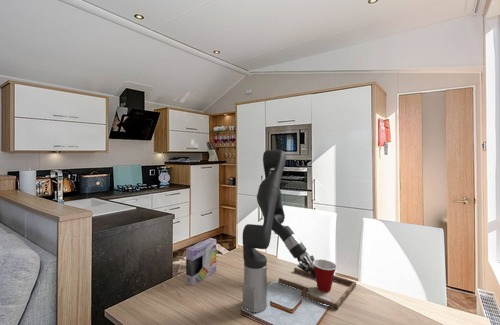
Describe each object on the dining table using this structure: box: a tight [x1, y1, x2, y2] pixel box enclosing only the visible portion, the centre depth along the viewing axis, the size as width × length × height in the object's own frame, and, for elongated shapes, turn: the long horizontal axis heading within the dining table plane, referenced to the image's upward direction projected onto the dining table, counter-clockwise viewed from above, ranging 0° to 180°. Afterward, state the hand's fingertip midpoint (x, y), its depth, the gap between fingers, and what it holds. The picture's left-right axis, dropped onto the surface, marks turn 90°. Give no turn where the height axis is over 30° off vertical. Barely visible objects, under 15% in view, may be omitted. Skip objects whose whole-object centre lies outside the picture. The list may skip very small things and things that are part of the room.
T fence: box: [278, 267, 357, 311], centre depth 121 cm, size 24×30×2 cm
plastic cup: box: [313, 259, 338, 293], centre depth 118 cm, size 11×11×12 cm
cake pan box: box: [185, 237, 217, 287], centre depth 129 cm, size 19×5×18 cm, turn 148°
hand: (318, 277), depth 120 cm, fingers closed
